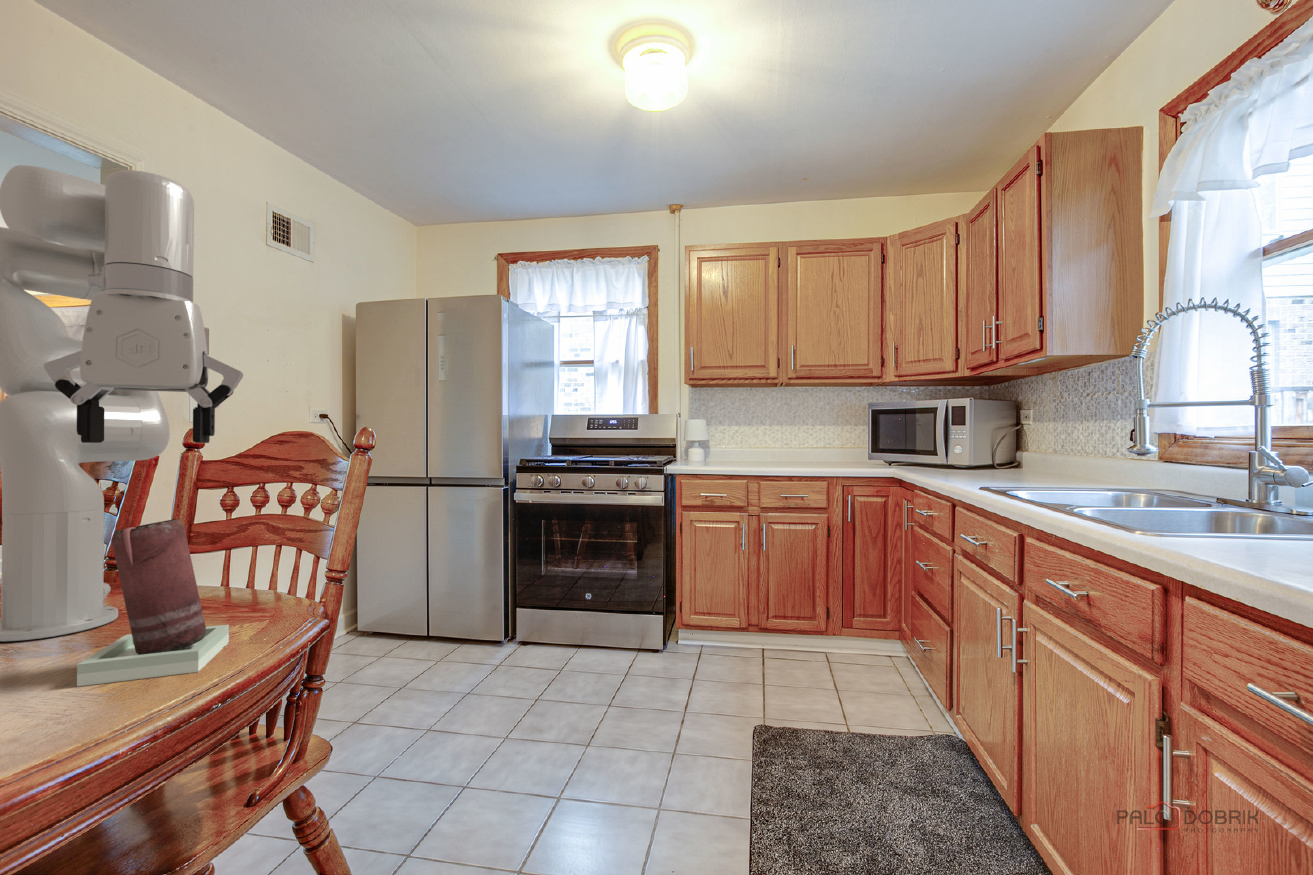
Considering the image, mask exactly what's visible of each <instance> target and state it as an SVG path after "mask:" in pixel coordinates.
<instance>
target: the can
mask: <svg viewBox="0 0 1313 875" xmlns="http://www.w3.org/2000/svg"><path fill="white" fill-rule="evenodd" d="M188 543H189V541H188V537H187V533H186V529H185V525H184V524H183V523H182V522H181V521H180V519H179V518H175V519H167V520H162V521H157V522H152V523H146V524H142V525H137V526H136V525H135V526H132V527H127V528H123V529H118V530H115V531H113V535H112V538H111V545H112V549H113V554H114V558H115V559H114V560H115V564H116V569H117V573H118V577H119V583H120V587H121V590H122V597H123V602H124V606H125V609H126V614H127V619H128V623H129V628H130V631H131V632H130V634H132V637H133V642H134V647H135V651H136V653H137V654H138V655H143V654H152V653H161V652H170V651H177V650H180V649H183V648H186V647H188V646H190V645H193V644H195V643H197V642H199V641H201V640H202V639H203V638H204V636H205V634H206V627H207V626H206V623H205V618H204V612H203V608H202V605H201V600H200V594H199V589H198V585H197V580H196V575H195V571H194V567H193V566H194V565H193V562H192V557H191V551H190V547H189V544H188Z"/></svg>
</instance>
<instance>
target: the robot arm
mask: <svg viewBox="0 0 1313 875" xmlns="http://www.w3.org/2000/svg"><path fill="white" fill-rule="evenodd" d="M0 214H1V217H2V219H3V221H4V223H5V225H6V226H7V227H4V226H0V389H1V391H2V392H4V393H5V394H6V396H7V397H4V398H3V399H2V400H0V475H1V476H0V478H1V499H2V500H1V522H2V523H1V589H0V590H1V595H0V596H1V597H0V598H1V599H0V601H1V603H0V604H1V605H0V607H1V608H0V609H1V610H0V642H18V641H20V642H21V641H29V640H39V639H45V638H51V637H58V636H63V635H68V634H73V633H78V632H83V631H86V630H90V629H94V628H97V627H100V626H103V625H106V624H109V623H111V622H114V621H115V620H116V619H118V617H119V609H118V608H117V607H116V606H115V607H114V606H110V605H109V606H108V605H104V597H105V596H107V595H108V594H109V593H110V592H111V586H110V584H109V583H107V582H104V565H105V564H104V563H105V560H104V557H105V556H104V555H105V554H104V552H105V550H104V549H105V548H104V547H105V544H104V541H105V539H104V538H105V537H104V535H105V534H104V532H105V530H104V529H105V497H104V493H103V491H102V488H101V487H100V485H99V484H98V483H97V481H95V479H94V478H93V477H91V476H90V475H89V473H87V472H86V471H85V470H83V468H82V467H81V466H80V465H79V464H82V463H92V462H93V463H94V462H130V461H133V462H134V461H135V462H136V461H146V460H150V459H153V458H156V457H157V456H159V455H162V453H163V452H164V451H165V450H166V448H167V446H168V444H169V442H170V423H169V419H168V415H167V412H166V410H165V407H164V404H163V402H162V400H161V397H160V395H159V392H176V393H177V392H178V393H179V392H180V393H187V394H188V395H189V396H190V397H191V398H193V400H194V401H195V402H196V403H197V404H196V405H197V406H196V407H195V406H194V408H193V409H192V442H193V443H195V444H208V443H210V440H211V438H210V437H214V436H215V433H216V431H215V429H216V428H215V427H216V426H215V424H216V421H215V420H216V409H218V408H219V407H220V405H221V404H222V403H223V402H225V401H226V400H227V399H229V397H231V396H232V395H233V394H234V391H235V389H236V388H237V387H238V385H239V384H240V383H241V380H242V379H243V377H244V373H243V372H242V371H240V370H238V369H237V368H234V367H233V366H231V365H229V364H226V363H224V362H222V361H220V360H217V359H216V358H214V357H211V356H209V355H208V346H207V338H206V330H205V324H204V319H203V315H202V312H201V308H200V306H199V305H198V304H197V303H194V245H195V244H194V240H195V239H194V235H195V233H194V232H195V228H194V227H195V201H194V198H193V195H192V194H191V192H190V191H189V190H188V189H187V188H186V187H185V186H184V185H182V183H180V182H178V181H176V180H174V179H171V178H168V177H165V176H163V175H160V174H155V173H152V172H147V171H142V170H134V169H133V170H132V169H122V170H118V171H114V172H112V173H110V175H108V176H107V178H106V181H105V184H103V183H99V182H96V181H92V180H89V179H86V178H83V177H78V176H74V175H71V174H68V173H64V172H60V171H57V170H54V169H50V168H46V167H45V168H44V167H42V166H41V167H40V166H34V165H23V164H19V165H14V166H13V167H11V168H9V170H8V171H7V173H6V174H5V176H4V177H3V180H2V182H1V184H0ZM28 291H31V292H36V293H43V294H48V295H56V296H61V297H67V298H73V299H79V300H86V301H90V304H89V308H88V312H87V315H86V320H85V324H84V330H83V336H82V340H79V339H76V338H72V337H70V335H69V332H68V331H67V328H66V325H65V322H64V321H63V320H62V318H61V316H59V315H58V313H56V311H55V310H54V309H52V308H51V307H50V306H48V305H47V304H46V302H43V301H42V300H41V299H39V298H37V297H36V296H34V295H32V294H31V293H29V292H28ZM209 370H212V371H214V372H215V373H217V374H220V375H222V377H223V379H222V381H221V383H220V385H217V387H215V388H214V389H212V391H211V392H210V390H208V388H207V387H208V384H209V373H210V372H209Z"/></svg>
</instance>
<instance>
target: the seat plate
mask: <svg viewBox="0 0 1313 875" xmlns="http://www.w3.org/2000/svg"><path fill="white" fill-rule="evenodd" d="M229 640H230V624H222V625H221V624H220V625H211V626H206V634H205V636H204V638H203V639H202V640H201V641H199V642H197V643H195V644H193V645H190V646H188V647H186V648H183V649H180V650H177V651H170V652H161V653H152V654H143V655H138V654H137V653H136V651H135V647H134V642H133V637H132V633H130V634H125V635H123V636H121V637H119V638H118V639H117V640H115V641H113V642H112V643H109V645H107V646H104V647H103V648H102V649H100V650H99V651H97V652H95V653H94V654H92V655H90V656H88V657H87V658H86V659H84V660H81V662H79V663H77V664H76V687H84V686H92V685H93V686H94V685H101V684H109V683H118V682H124V681H125V682H126V681H134V680H140V679H149V678H156V677H157V678H159V677H166V676H175V675H182V674H191V673H199V672H200V671H202V669H203V668H204V667H205V666H206V665H207V664H208V663H209V662H210V661H211V660H212V659H213V658H215V656H216V655H218V654H219V653H220V652H221V651H222V650H223V649H224V648H225V647H226V646H227V645H229V643H228V642H230V641H229ZM224 646H225V647H224ZM223 647H224V648H223Z"/></svg>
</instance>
